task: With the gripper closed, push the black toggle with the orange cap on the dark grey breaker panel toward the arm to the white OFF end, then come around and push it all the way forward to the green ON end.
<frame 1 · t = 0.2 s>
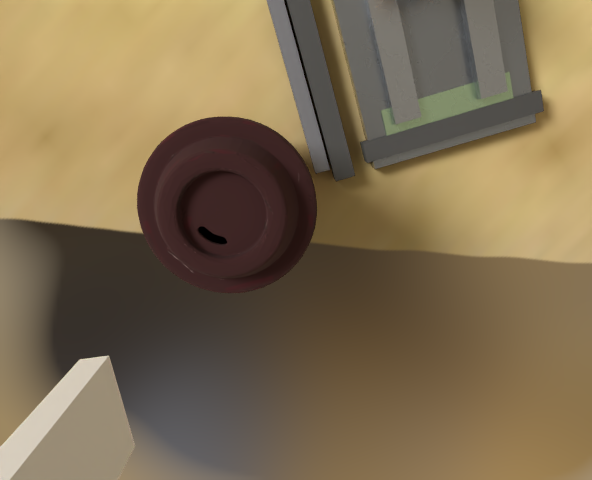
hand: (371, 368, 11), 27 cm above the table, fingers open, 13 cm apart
coffee cup: (251, 178, 37), on the table
grey panel edge rail: (445, 127, 36), resting on breaker panel
long dark grey rail: (303, 26, 34), on the table
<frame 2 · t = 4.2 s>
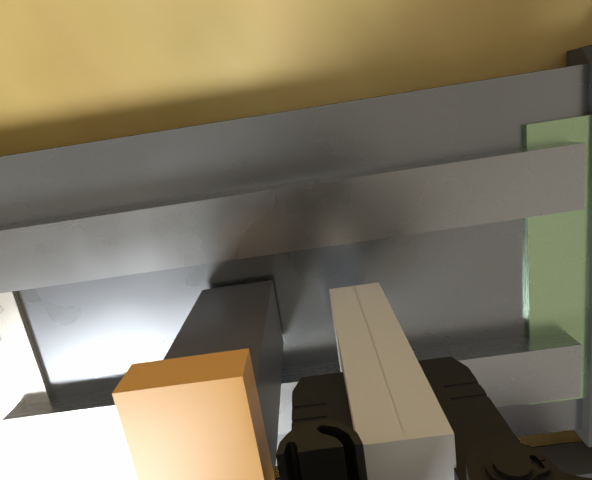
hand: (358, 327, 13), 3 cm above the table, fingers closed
grey panel edge rail: (587, 252, 16), resting on breaker panel
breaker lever: (228, 374, 12), point 5 cm above the table, slide at -1.0 cm, touching gripper
breaker panel: (275, 296, 17), on the table
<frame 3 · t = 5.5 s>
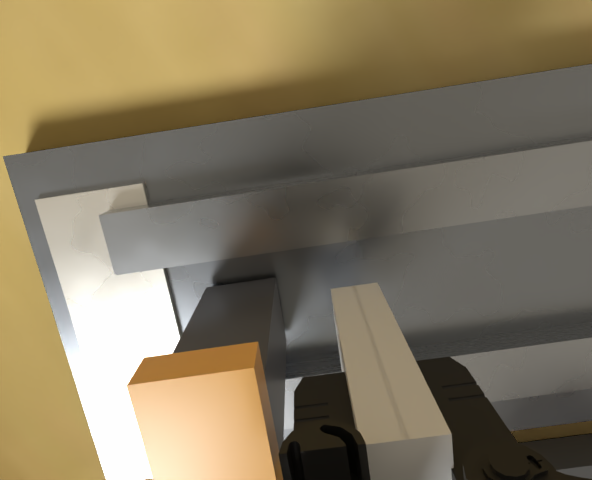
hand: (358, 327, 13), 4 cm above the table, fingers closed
long dark grey rail: (452, 467, 19), on the table
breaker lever: (234, 368, 12), point 5 cm above the table, slide at -6.2 cm, touching gripper
breaker panel: (412, 274, 17), on the table
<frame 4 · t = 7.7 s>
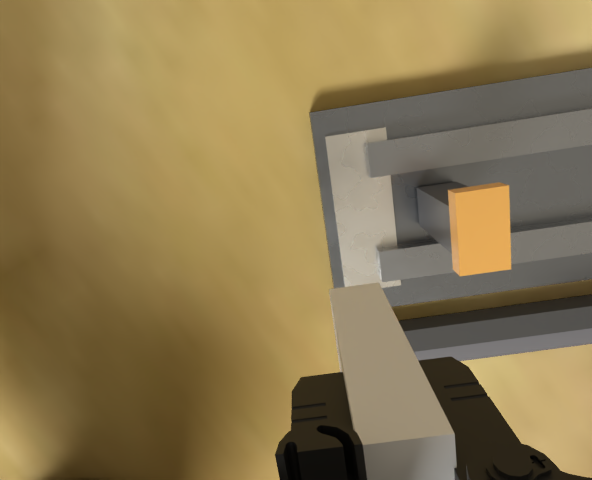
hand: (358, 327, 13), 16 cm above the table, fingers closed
long dark grey rail: (542, 311, 31), on the table
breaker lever: (457, 216, 24), point 5 cm above the table, slide at -6.0 cm
breaker panel: (525, 185, 28), on the table
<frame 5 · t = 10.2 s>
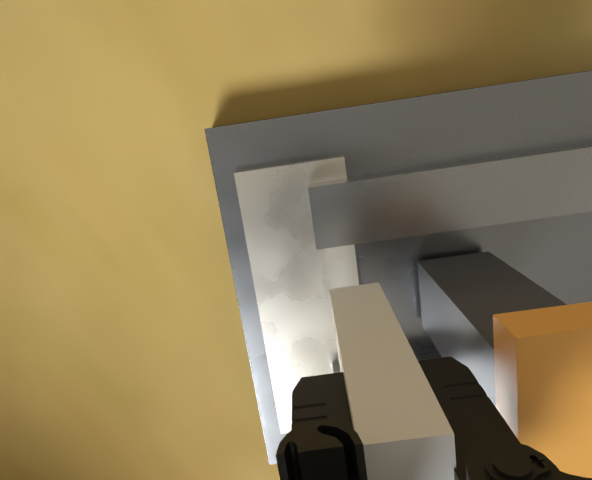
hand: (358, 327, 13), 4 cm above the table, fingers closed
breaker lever: (499, 337, 12), point 5 cm above the table, slide at -5.5 cm, touching gripper
breaker panel: (587, 254, 16), on the table
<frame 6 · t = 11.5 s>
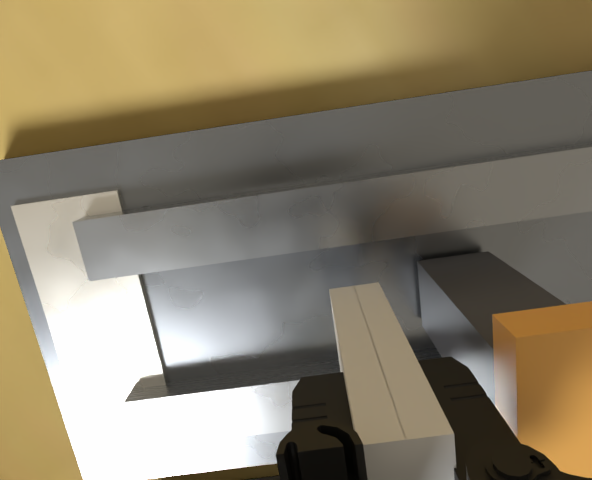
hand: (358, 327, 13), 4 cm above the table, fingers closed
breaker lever: (499, 337, 12), point 5 cm above the table, slide at 2.0 cm, touching gripper
breaker panel: (387, 281, 17), on the table
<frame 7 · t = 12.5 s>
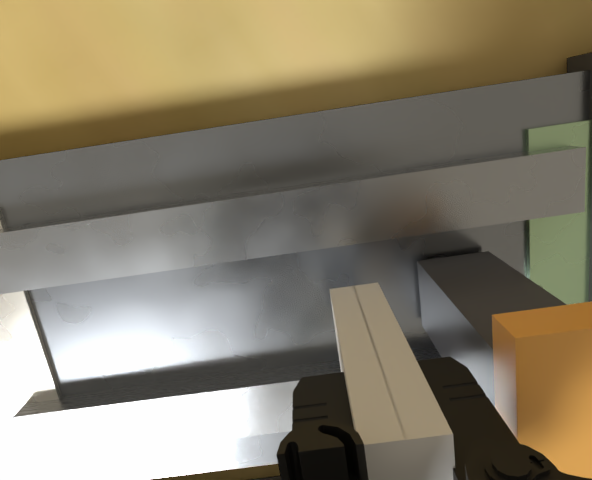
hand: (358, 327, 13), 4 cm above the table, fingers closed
grey panel edge rail: (587, 254, 16), resting on breaker panel
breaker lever: (499, 337, 12), point 5 cm above the table, slide at 6.1 cm, touching gripper
breaker panel: (281, 296, 17), on the table
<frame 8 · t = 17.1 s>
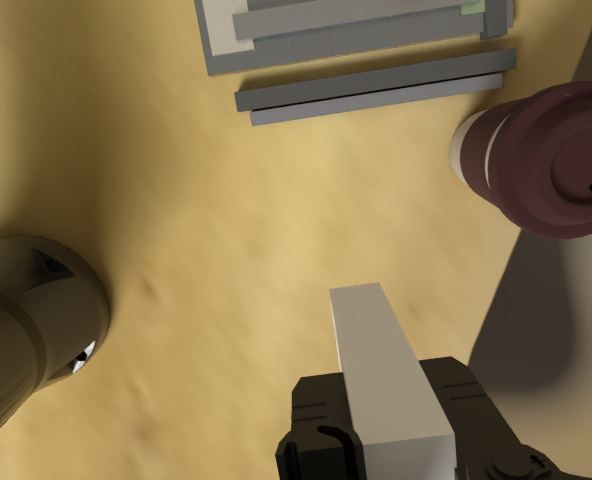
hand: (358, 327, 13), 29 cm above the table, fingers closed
coffee cup: (486, 149, 41), on the table
long dark grey rail: (371, 81, 39), on the table
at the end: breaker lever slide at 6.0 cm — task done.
